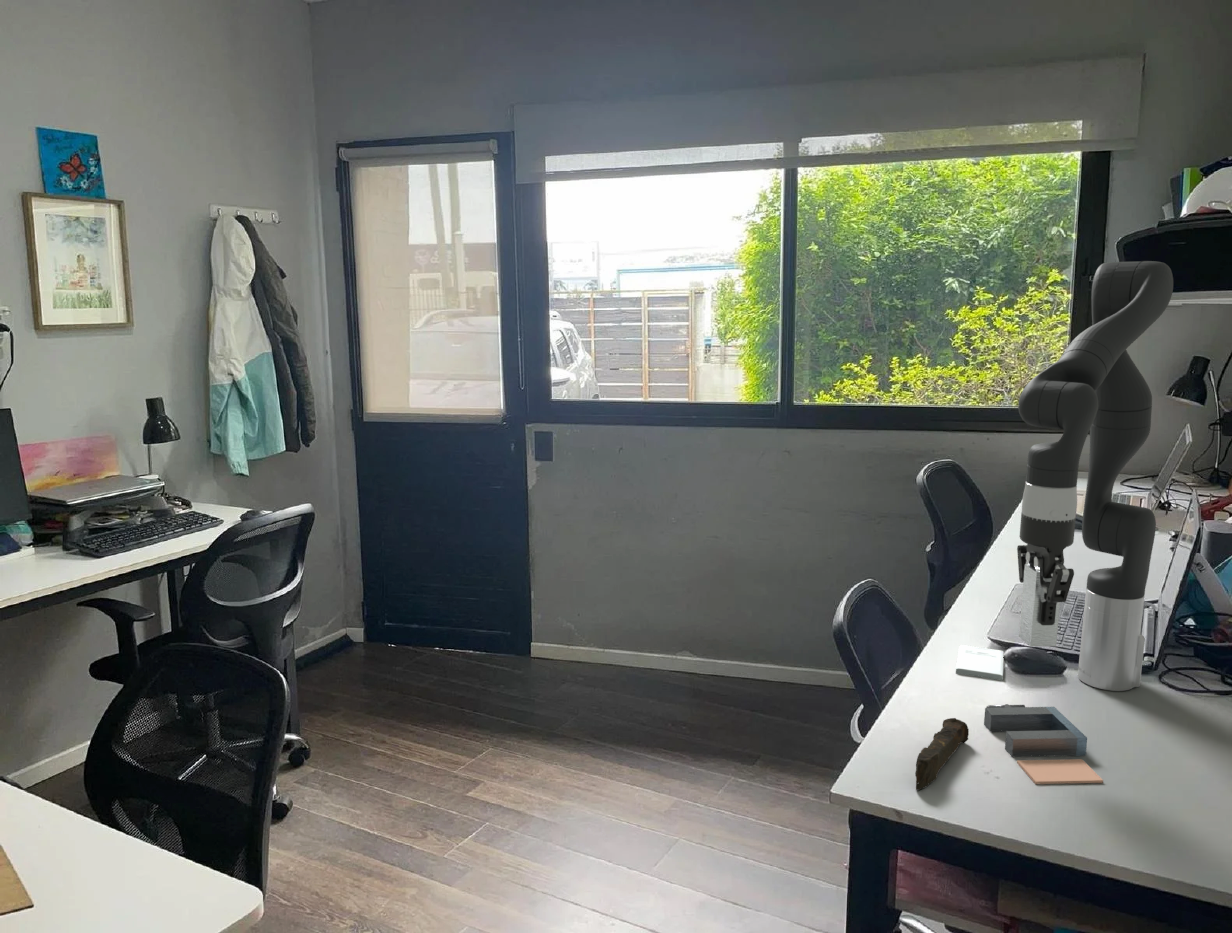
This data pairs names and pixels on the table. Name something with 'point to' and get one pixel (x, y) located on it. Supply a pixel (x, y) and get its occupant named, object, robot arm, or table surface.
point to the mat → (1059, 771)
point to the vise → (1035, 731)
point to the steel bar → (1035, 613)
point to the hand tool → (939, 751)
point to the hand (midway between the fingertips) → (1039, 618)
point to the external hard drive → (980, 662)
